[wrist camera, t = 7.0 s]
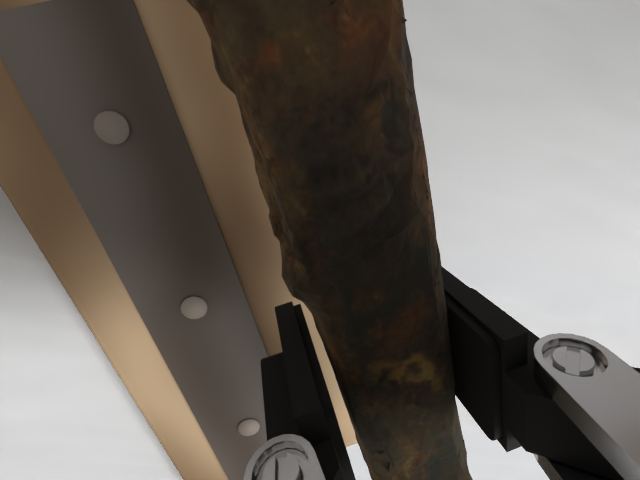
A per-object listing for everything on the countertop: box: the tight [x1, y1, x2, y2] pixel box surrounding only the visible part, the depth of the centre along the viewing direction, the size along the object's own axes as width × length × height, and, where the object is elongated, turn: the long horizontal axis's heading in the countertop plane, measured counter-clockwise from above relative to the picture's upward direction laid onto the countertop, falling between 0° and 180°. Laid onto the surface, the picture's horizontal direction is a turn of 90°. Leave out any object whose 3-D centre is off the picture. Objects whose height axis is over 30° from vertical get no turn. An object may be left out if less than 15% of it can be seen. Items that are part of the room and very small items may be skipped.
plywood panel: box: [0, 0, 358, 480], centre depth 14 cm, size 13×22×1 cm, turn 14°
